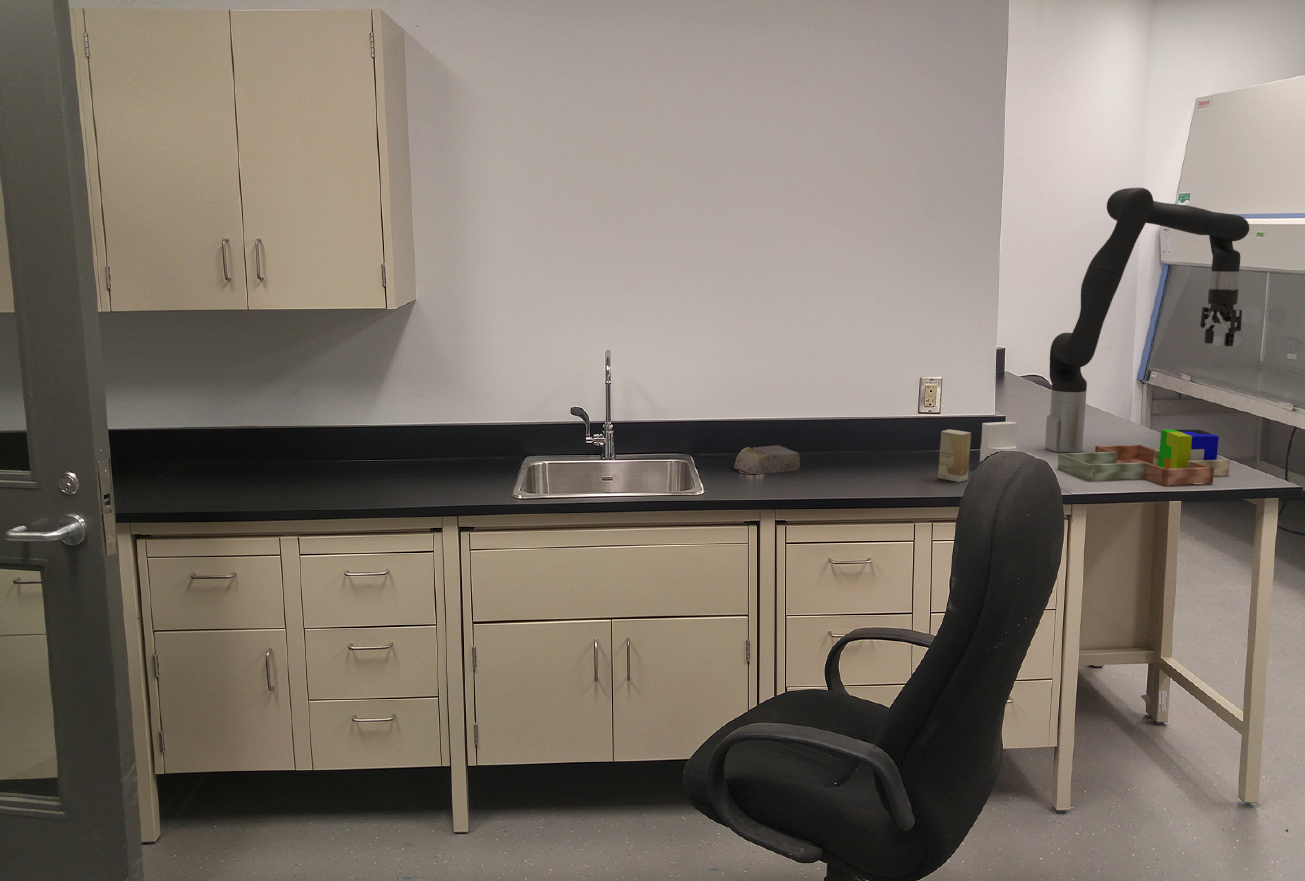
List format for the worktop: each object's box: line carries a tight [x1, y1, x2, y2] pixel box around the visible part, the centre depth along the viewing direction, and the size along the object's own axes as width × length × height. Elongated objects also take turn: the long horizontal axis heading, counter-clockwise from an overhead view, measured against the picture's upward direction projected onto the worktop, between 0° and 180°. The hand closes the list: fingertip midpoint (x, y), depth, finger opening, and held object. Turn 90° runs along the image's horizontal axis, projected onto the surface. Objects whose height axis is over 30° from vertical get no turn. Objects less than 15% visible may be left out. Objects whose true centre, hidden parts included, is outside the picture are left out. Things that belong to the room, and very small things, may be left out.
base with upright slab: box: [979, 421, 1018, 463], centre depth 281 cm, size 9×9×12 cm
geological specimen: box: [733, 444, 801, 476], centre depth 282 cm, size 11×6×15 cm
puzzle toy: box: [1158, 429, 1220, 469], centre depth 277 cm, size 10×10×10 cm
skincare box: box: [937, 429, 972, 483], centre depth 268 cm, size 6×4×12 cm
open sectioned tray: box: [1057, 444, 1231, 487], centre depth 276 cm, size 38×31×4 cm
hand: (1218, 344), depth 307 cm, fingers open, 8 cm apart
